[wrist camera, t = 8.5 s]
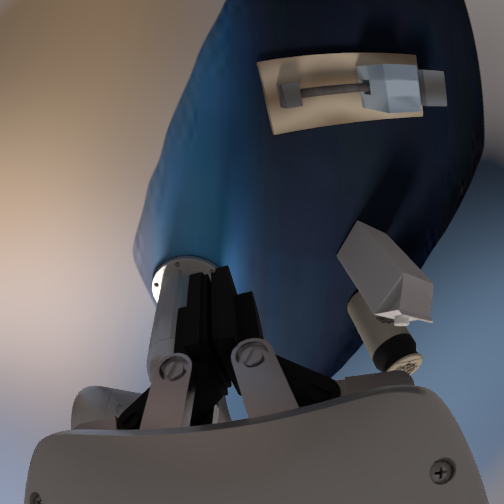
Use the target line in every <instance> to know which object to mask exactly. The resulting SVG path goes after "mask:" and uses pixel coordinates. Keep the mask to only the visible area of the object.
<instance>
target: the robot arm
mask: <svg viewBox="0 0 504 504" xmlns="http://www.w3.org/2000/svg"><path fill="white" fill-rule="evenodd" d="M152 292H153V296H154V298H155V300H156V302H157V307H156V312H155V317H154V323H153V328H152V334H151V339H150V345H149V352H148V358H147V373H148V376H149V379H150V382H151V386H150V387H149V388H148V389H147V390H146V391H145V392H144V393H143V394H141V393H135V392H130V391H124V390H119V389H113V388H108V387H102V386H89V387H86V388H84V389H82V390H81V391H80V392H79V393H78V395H77V396H76V398H75V401H74V404H73V408H72V416H71V430H67V431H62V432H58V433H55V434H52V435H49V436H47V437H45V438H44V439H42V440H41V441H40V442H39V443H38V444H37V446H36V448H35V450H34V453H33V455H32V459H31V462H30V467H29V471H28V477H27V483H26V490H25V500H24V504H489V503H488V500H487V496H486V492H485V489H484V486H483V482H482V479H481V476H480V474H479V471H478V468H477V466H476V463H475V460H474V458H473V455H472V453H471V450H470V448H469V446H468V444H467V442H466V439H465V437H464V435H463V433H462V431H461V429H460V427H459V425H458V423H457V422H456V420H455V418H454V417H453V415H452V413H451V411H450V410H449V409H448V407H447V406H446V404H445V403H444V402H443V400H442V399H441V398H440V397H439V396H438V395H437V394H436V393H434V392H433V391H431V390H430V389H427V388H424V387H420V386H415V385H414V381H413V379H412V377H411V376H410V375H409V374H408V373H407V372H404V371H401V370H393V371H387V372H380V373H374V374H366V375H359V376H351V377H345V380H337V381H335V380H333V379H331V378H330V377H327V376H325V375H322V374H320V373H317V372H315V371H312V370H310V369H308V368H305V367H303V366H300V365H298V364H296V363H293V362H291V361H289V360H287V359H284V358H282V357H280V356H278V355H275V353H274V351H273V349H272V347H271V345H270V344H269V343H268V342H267V341H265V340H264V338H263V333H262V328H261V323H260V319H259V315H258V310H257V306H256V303H255V299H254V296H253V292H252V291H251V292H247V293H242V294H238V295H237V292H236V289H235V286H234V282H233V279H232V276H231V273H230V270H229V267H228V265H227V266H223V267H219V268H218V267H217V266H216V265H214V264H213V263H212V262H210V261H208V260H206V259H203V258H200V257H195V256H180V257H175V258H172V259H170V260H168V261H166V262H165V263H163V264H162V265H161V266H160V267H159V268H158V269H157V271H156V272H155V274H154V277H153V281H152ZM231 381H232V383H233V384H234V386H235V388H236V390H237V392H238V394H239V395H241V396H242V398H243V401H244V404H245V407H246V410H247V413H248V417H249V418H248V419H242V420H236V421H232V420H231V417H230V414H229V410H228V407H227V403H226V398H225V395H228V390H227V388H228V387H231ZM433 463H434V464H433ZM444 483H445V484H444ZM443 484H444V485H443Z"/></svg>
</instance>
